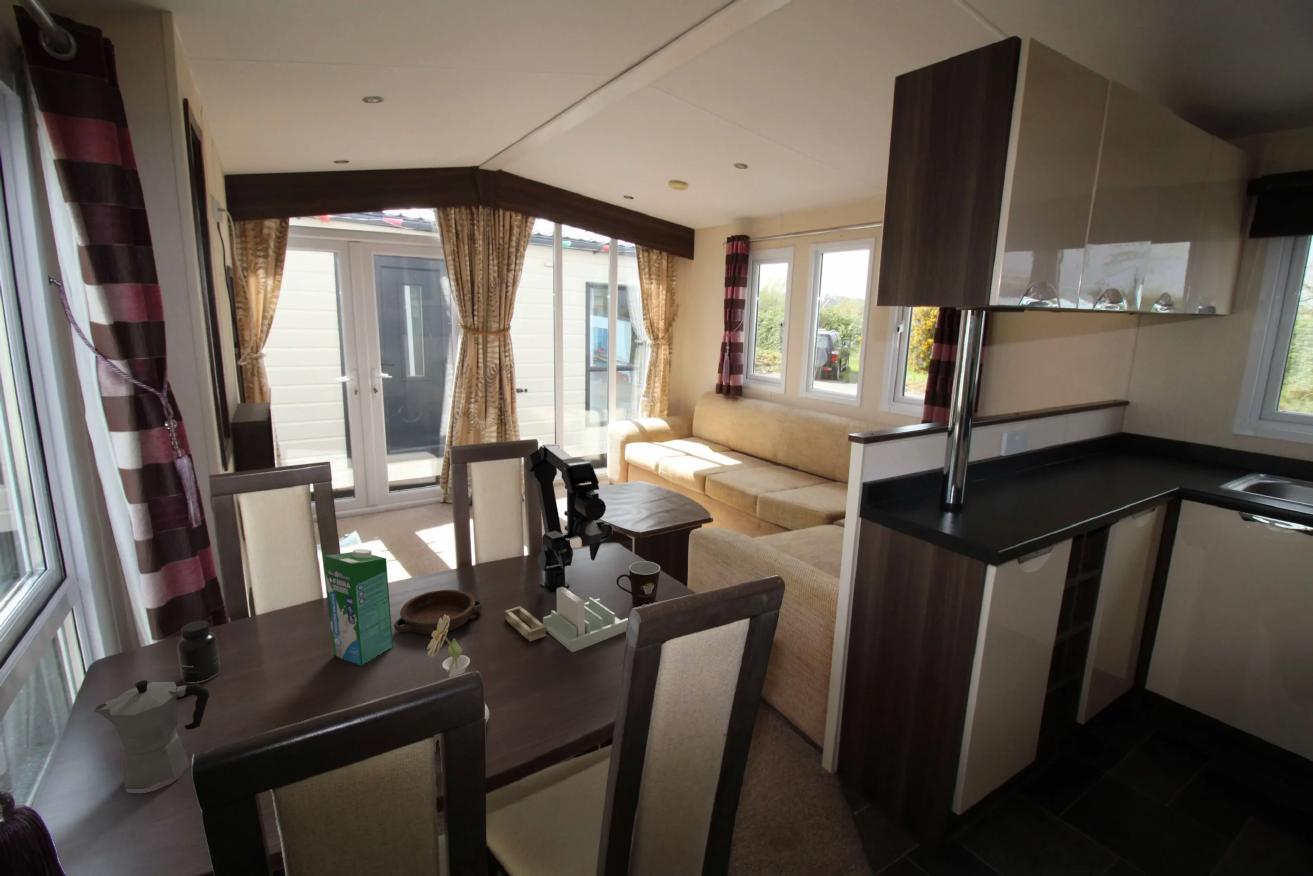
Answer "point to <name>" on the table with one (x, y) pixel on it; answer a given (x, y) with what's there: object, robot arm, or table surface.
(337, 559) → the milk carton
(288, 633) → the table surface
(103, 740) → the table surface
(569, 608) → the white slab
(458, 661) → the flower in vase
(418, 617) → the dish
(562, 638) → the rack
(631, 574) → the coffee mug
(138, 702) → the coffeepot
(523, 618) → the stand
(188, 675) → the supplement bottle
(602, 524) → the robot arm
